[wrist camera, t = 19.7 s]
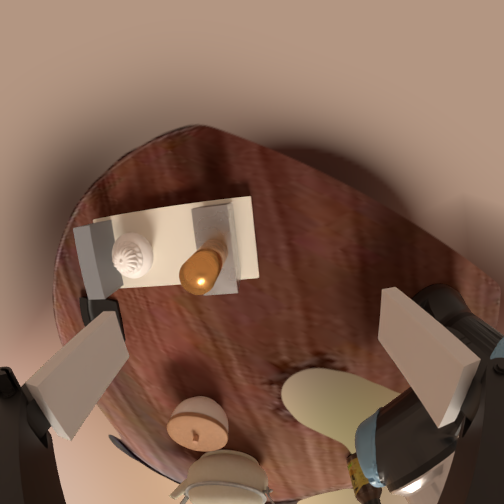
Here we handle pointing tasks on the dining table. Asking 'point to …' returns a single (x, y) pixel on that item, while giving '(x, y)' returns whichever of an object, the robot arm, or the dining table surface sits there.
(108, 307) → the curved wedge
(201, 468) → the kettle
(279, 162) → the dining table surface
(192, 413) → the lidded jar
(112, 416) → the dining table surface
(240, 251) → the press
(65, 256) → the dining table surface
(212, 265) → the ram
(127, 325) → the dining table surface
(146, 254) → the white steamed bun
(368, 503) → the sauce bottle
